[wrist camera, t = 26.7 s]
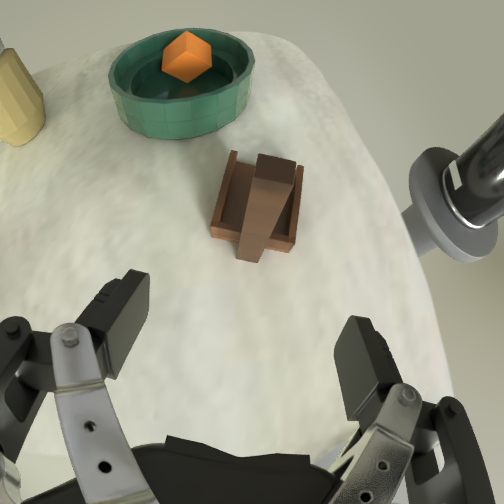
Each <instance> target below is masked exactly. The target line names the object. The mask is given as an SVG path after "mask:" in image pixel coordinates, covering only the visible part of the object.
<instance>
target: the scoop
mask: <svg viewBox="0 0 504 504" xmlns="http://www.w3.org/2000/svg"><path fill="white" fill-rule="evenodd" d="M237 154H238V151H234V150H231V153H230V156H229V159H228V163H227V166H226V170H225V174H224V177H223V181H222V184H221V188H220V192H219V195H218V199H217V203H216V207H215V210H214V214H213V218H212V222H211V226H210V229H211V237H214V238H219V239H224V240H229V241H233V242H238V243H239V246H238V251H237V255H236V259H240V260H245V261H250V262H255V263H258V261H259V259H260V257H261V254H262V252H263V250H264V248H267V249H272V250H276V251H281V252H286V253H289V251H290V250H291V249H292V247H293V246H294V244H295V239H296V231H297V223H298V215H299V207H300V199H301V190H302V181H303V172H304V166H301V165H297V168H296V162H295V161H291V160H287V159H283V158H278V157H274V156H270V155H265V154H260V153H259V154H258V158H257V162H256V166H254V165H249V164H245V163H240V162H237Z"/></svg>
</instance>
